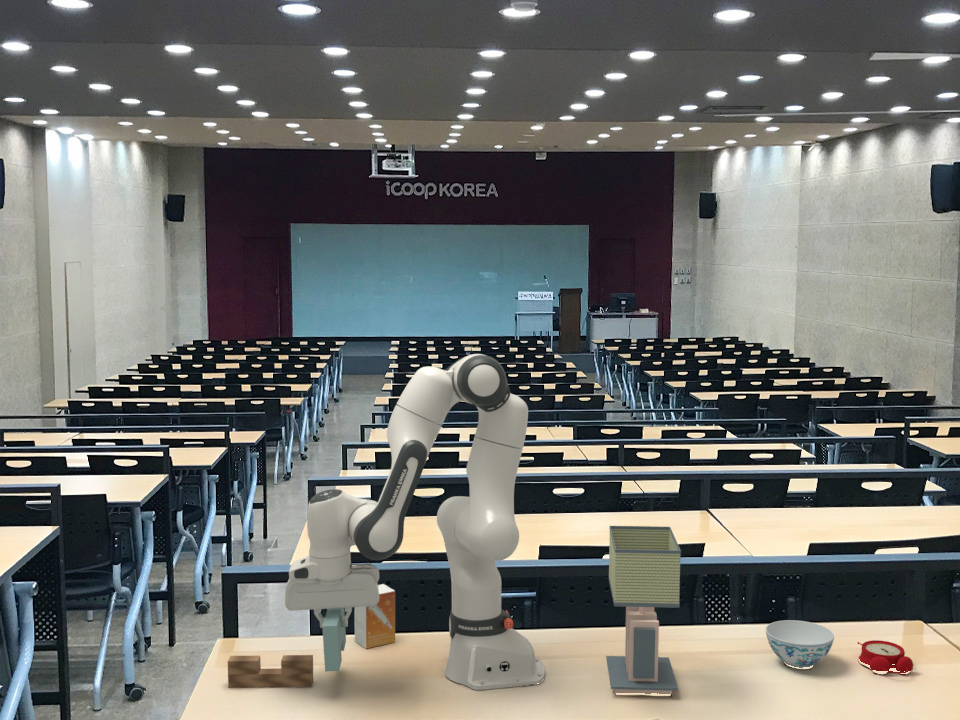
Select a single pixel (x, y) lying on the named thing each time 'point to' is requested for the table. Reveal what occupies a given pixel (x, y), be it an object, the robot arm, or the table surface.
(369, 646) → the small box
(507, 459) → the robot arm
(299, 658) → the walnut notched block
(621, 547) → the desk lamp
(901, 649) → the alarm clock
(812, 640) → the chinaware
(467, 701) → the table surface
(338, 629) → the teal plate
